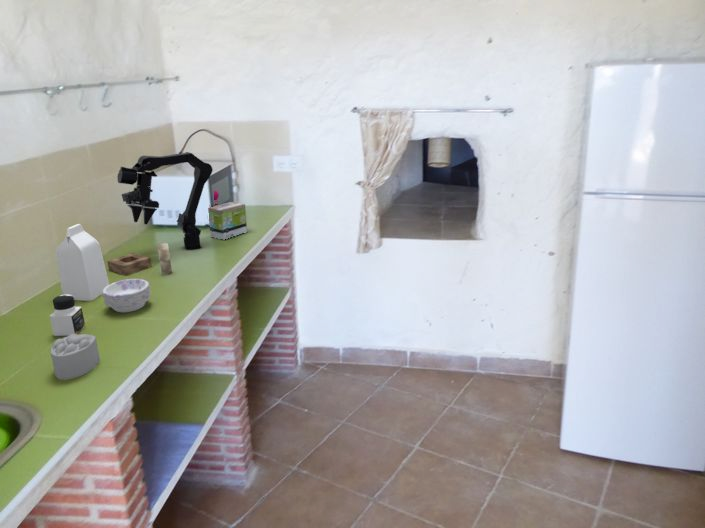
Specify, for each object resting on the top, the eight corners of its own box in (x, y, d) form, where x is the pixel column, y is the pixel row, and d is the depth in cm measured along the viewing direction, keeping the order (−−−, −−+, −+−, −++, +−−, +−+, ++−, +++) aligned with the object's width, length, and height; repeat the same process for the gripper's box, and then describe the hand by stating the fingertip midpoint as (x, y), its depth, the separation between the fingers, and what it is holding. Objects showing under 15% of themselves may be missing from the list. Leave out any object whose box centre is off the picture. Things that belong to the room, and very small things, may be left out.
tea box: (224, 241, 281) (221, 210, 276) (210, 237, 287) (206, 207, 282) (248, 233, 292) (245, 203, 287) (234, 230, 298) (231, 200, 293)
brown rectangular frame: (134, 261, 256) (132, 253, 255) (151, 266, 249) (150, 257, 248) (108, 270, 247) (107, 261, 246) (126, 275, 240) (124, 266, 239)
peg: (171, 270, 244) (167, 242, 240) (172, 273, 240) (168, 245, 236) (161, 272, 243) (157, 243, 239) (161, 275, 239) (157, 246, 235)
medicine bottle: (75, 336, 189) (68, 300, 185) (53, 336, 190) (45, 301, 186) (85, 326, 196) (79, 292, 192) (64, 326, 196) (56, 292, 192)
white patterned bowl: (103, 319, 201) (99, 297, 198) (108, 302, 215) (104, 281, 212) (151, 312, 205) (148, 291, 202) (153, 296, 218) (149, 276, 216)
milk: (91, 300, 217) (78, 231, 208) (63, 299, 219) (48, 230, 210) (110, 288, 228) (98, 222, 219) (83, 287, 230) (70, 221, 221)
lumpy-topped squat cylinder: (104, 357, 175) (99, 330, 172) (81, 380, 163) (76, 351, 160) (70, 356, 176) (65, 329, 173) (45, 379, 164) (39, 351, 161)
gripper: (115, 182, 254) (112, 219, 255) (135, 185, 240) (131, 223, 242) (140, 186, 261) (137, 221, 263) (161, 188, 248) (157, 225, 250)
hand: (140, 223), depth 254 cm, fingers open, 9 cm apart
